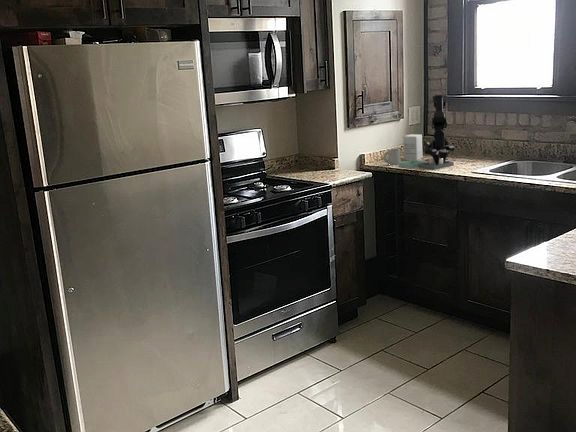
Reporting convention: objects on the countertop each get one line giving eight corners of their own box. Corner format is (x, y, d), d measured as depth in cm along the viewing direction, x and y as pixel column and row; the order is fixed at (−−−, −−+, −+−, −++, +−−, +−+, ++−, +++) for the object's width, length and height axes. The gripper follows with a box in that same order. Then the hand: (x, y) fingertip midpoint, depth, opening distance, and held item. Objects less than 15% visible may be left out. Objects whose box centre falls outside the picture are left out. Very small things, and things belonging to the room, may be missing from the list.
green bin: (412, 164, 376) (412, 159, 375) (425, 166, 367) (425, 161, 366) (398, 167, 370) (398, 162, 369) (412, 169, 361) (412, 164, 360)
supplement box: (409, 157, 401) (409, 134, 398) (422, 158, 396) (422, 134, 393) (403, 159, 394) (402, 136, 391) (416, 160, 389) (416, 136, 386)
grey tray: (437, 164, 371) (437, 160, 370) (453, 166, 361) (453, 161, 361) (418, 168, 362) (418, 164, 362) (434, 170, 353) (434, 166, 352)
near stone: (439, 166, 362) (439, 157, 361) (444, 166, 359) (444, 158, 358) (434, 167, 360) (434, 158, 359) (439, 167, 357) (439, 159, 356)
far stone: (432, 165, 367) (432, 156, 365) (437, 165, 363) (437, 157, 362) (427, 166, 364) (427, 157, 363) (432, 166, 361) (432, 158, 360)
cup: (400, 165, 376) (399, 150, 374) (383, 166, 378) (382, 151, 376) (400, 163, 383) (400, 148, 380) (384, 164, 385) (383, 149, 383)
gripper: (439, 134, 367) (440, 161, 371) (417, 139, 357) (417, 166, 361) (454, 136, 358) (454, 163, 362) (431, 140, 348) (432, 168, 352)
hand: (439, 165), depth 359 cm, fingers closed on near stone, 4 cm apart
